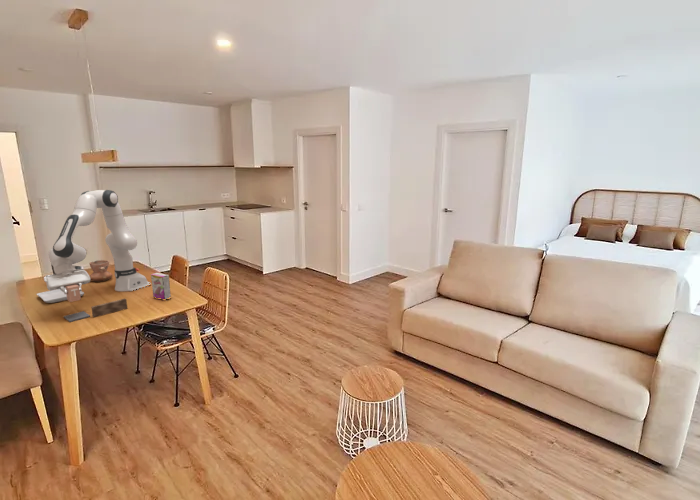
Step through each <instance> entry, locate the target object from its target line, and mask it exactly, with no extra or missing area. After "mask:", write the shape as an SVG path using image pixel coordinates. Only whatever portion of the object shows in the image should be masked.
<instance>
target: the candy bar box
mask: <svg viewBox="0 0 700 500" xmlns="http://www.w3.org/2000/svg"><path fill="white" fill-rule="evenodd" d="M150 278H151V288H152V297H156V298H161V299H167V298H169V297H171V298H172V295H171V285H170V275H169V274H164V273H159V272H155V273H152V274H150ZM156 298H155V299H156Z"/></svg>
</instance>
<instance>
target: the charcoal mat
mask: <svg viewBox="0 0 700 500" xmlns="http://www.w3.org/2000/svg"><path fill="white" fill-rule="evenodd" d="M63 318H64V320H66V321H67V322H69V323H72V322H75V321H81V320H83V319H87V318H91V315H90V314H88V313H87V312H86V311H84V310H83V311H79V312H74V313H72V314H67V315H63Z"/></svg>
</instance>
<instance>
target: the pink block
mask: <svg viewBox="0 0 700 500" xmlns="http://www.w3.org/2000/svg"><path fill="white" fill-rule="evenodd" d="M65 287H66V290H68V294H67V300H66V301H68V302H70V303H72V302H75V301H81V299H82V298H81V297H82V296H80V289H79V287H80V286H78V285H76V284H75V285H70V286H65Z"/></svg>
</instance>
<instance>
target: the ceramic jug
mask: <svg viewBox="0 0 700 500" xmlns="http://www.w3.org/2000/svg"><path fill="white" fill-rule="evenodd" d="M109 265H110V261H109V260H105V259H101V260H99V259H98V260H93V261H90V262H89V266H90V269H91V270H92V271H93V272H92V273H91V274H90V275H89V276H90V279H91V280H90V282H95V283H96V282H97V283H98V282H99V283H100V282H102V283H103V282H106V281H108V280H111V279H112V278H113V273H111V272H110V271H108V268H109Z"/></svg>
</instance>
